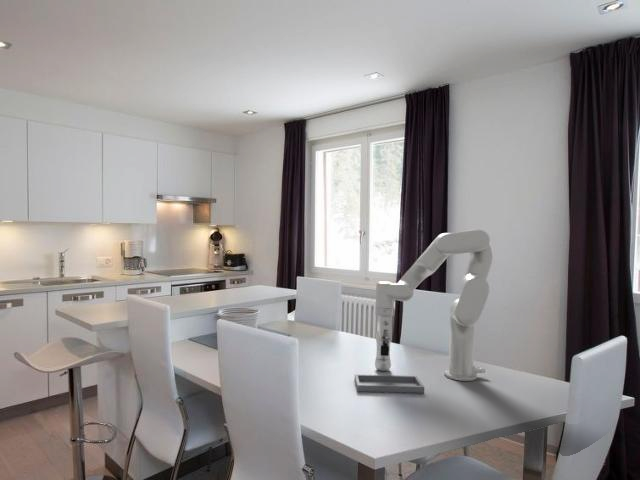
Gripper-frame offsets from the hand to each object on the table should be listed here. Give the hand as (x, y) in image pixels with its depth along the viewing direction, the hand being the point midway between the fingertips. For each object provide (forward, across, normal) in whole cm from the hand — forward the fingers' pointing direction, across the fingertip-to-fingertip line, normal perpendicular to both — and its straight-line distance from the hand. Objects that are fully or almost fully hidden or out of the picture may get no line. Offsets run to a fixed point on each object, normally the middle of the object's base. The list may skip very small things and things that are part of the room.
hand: (382, 352), depth 184 cm
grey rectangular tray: (+8, -20, +1) cm, 21 cm away
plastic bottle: (+8, 0, 0) cm, 8 cm away
